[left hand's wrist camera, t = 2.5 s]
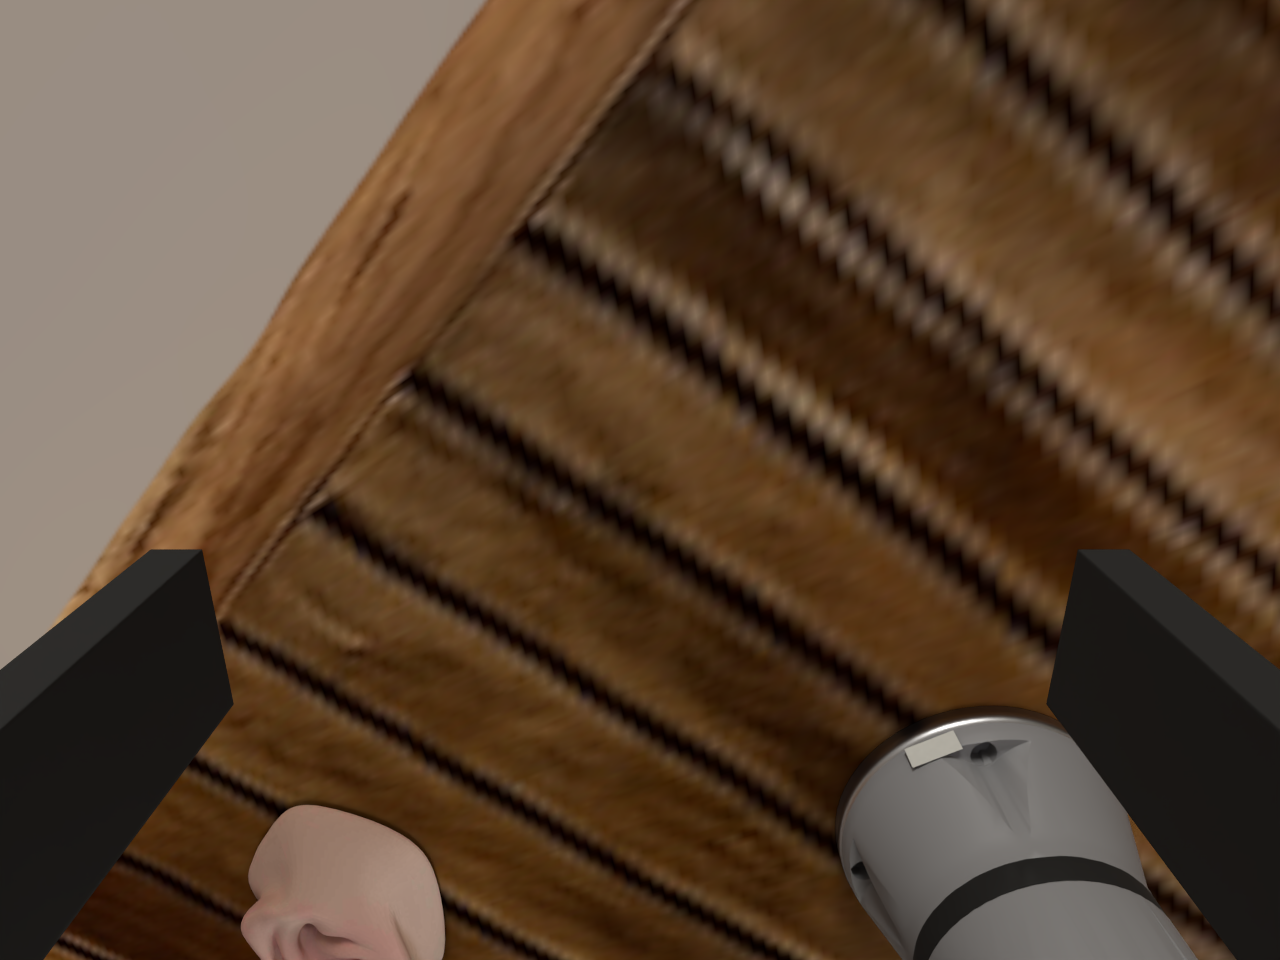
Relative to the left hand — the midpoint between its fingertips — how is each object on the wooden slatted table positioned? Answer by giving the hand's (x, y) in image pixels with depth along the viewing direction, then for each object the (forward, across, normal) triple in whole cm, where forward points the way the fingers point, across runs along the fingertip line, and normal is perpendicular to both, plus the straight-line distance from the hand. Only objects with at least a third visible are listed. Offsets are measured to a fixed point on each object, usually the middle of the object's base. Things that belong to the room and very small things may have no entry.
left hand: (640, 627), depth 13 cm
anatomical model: (+26, +17, +34) cm, 46 cm away
